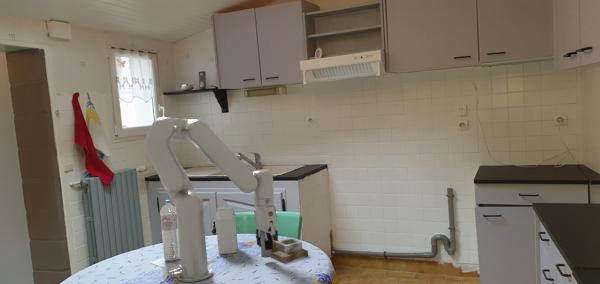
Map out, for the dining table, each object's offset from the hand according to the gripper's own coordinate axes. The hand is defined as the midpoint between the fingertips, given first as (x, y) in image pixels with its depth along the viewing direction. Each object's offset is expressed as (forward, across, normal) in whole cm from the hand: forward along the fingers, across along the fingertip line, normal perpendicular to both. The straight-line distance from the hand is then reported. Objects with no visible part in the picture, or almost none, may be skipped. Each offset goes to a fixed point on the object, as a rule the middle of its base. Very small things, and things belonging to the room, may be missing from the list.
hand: (266, 247), depth 172 cm
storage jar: (+6, +22, -12) cm, 26 cm away
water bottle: (+7, +31, +28) cm, 42 cm away
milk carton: (+6, +24, +6) cm, 25 cm away
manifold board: (+5, +3, -10) cm, 12 cm away
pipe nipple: (+3, 0, 0) cm, 3 cm away
